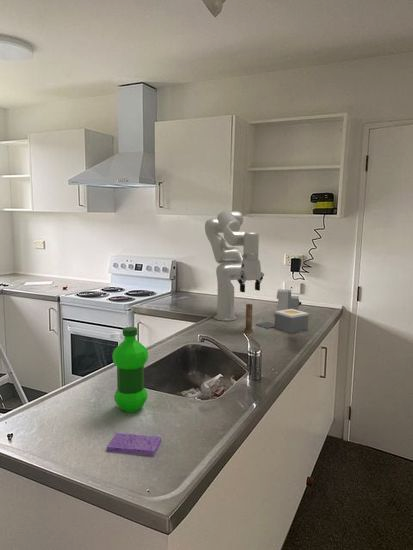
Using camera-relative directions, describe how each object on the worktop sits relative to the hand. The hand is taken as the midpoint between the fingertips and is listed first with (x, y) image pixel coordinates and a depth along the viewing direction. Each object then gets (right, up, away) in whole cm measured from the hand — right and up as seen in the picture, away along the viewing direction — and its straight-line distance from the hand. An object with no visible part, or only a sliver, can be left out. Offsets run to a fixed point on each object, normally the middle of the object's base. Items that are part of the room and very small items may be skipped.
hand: (249, 291), depth 210 cm
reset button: (+22, -16, +8) cm, 29 cm away
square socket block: (+22, -20, +9) cm, 31 cm away
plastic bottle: (-45, -33, -82) cm, 99 cm away
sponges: (-40, -36, -103) cm, 116 cm away
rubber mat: (+11, -19, +15) cm, 27 cm away
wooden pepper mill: (0, -21, +3) cm, 21 cm away
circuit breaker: (+27, -16, +38) cm, 49 cm away
